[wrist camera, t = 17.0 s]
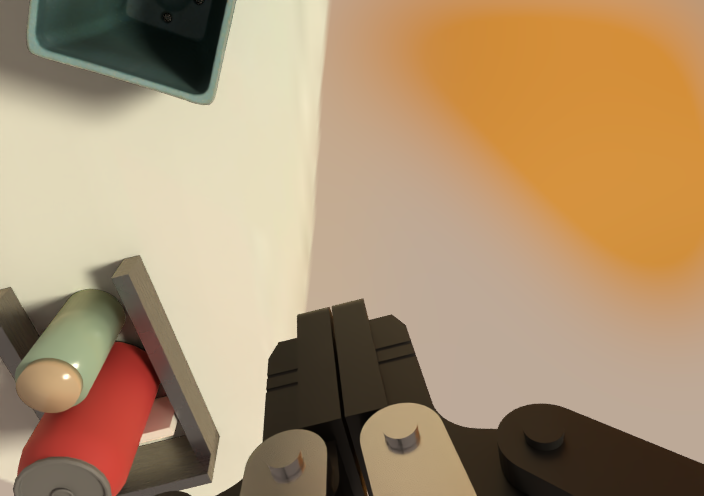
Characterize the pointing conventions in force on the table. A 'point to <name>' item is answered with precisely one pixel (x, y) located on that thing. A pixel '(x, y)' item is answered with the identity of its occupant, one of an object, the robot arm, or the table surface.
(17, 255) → the table surface
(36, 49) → the flower pot
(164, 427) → the pusher
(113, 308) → the jar
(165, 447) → the lane
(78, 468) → the beer can
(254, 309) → the table surface
